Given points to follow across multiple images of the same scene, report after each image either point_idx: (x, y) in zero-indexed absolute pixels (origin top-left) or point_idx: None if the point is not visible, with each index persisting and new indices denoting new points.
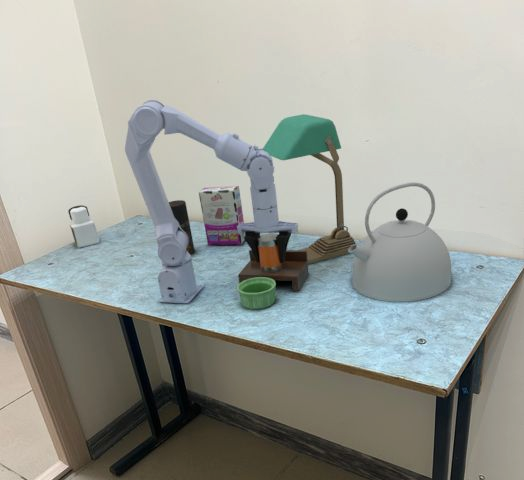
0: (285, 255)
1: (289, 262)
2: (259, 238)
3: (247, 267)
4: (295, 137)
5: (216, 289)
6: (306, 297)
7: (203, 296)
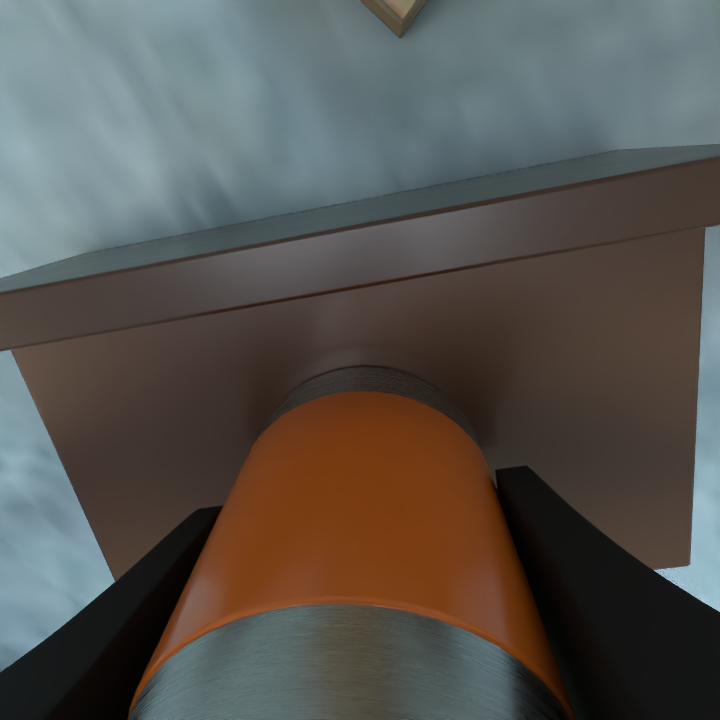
0: (552, 491)
1: (494, 286)
2: None
3: (109, 493)
4: None
5: (30, 560)
6: (705, 534)
7: (31, 646)
